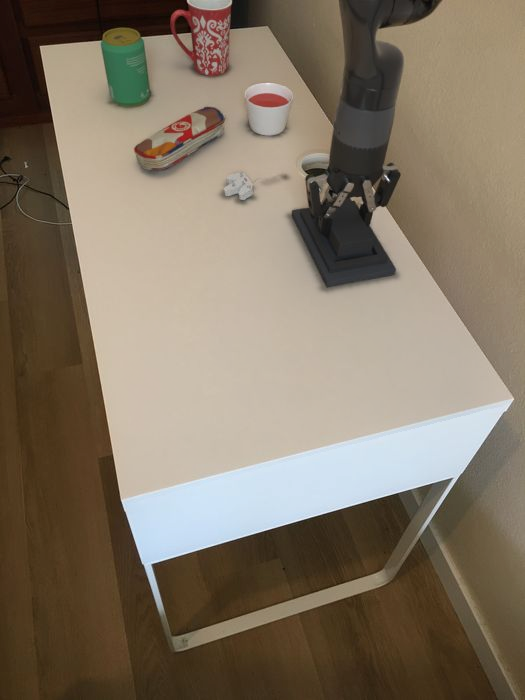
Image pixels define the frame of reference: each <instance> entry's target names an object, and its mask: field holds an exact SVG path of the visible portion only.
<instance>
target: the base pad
mask: <svg viewBox="0 0 525 700" xmlns="http://www.w3.org/2000/svg"><path fill="white" fill-rule="evenodd" d="M352 202H353V204H354V205H355V207H356V209H357V210H358V212H359V209H360V206H359V205H358V204H357V202H356V200H352ZM291 218H292V220H293V222H294V224H295V226H296V228H297V230H298V232H299V234H300V237H301V238H302V240H303V243H304V244H305V246H306V248H307V251H308V252H309V254H310V257H311V259H312V260H313V261H312V262H313V263H314V265H315V267H316V269H317V271H318V273H319V275H320V277H321V279H322V282H323V283H324V285H325V287H326V288H330V287H336V286H341V285H347V284H353V283H359V282H364V281H369V280H374V279H381V278H384V277H391V276H395V275H396V271H397V267H396V266H395V265H394V263H393V262H392V260H391V258H390V257H389V255H388V253H387V252H386V250H385V248H384V247H383V245H382V243H381V242H380V240H379V238H378V237H377V235H376V233H375V232H374V231H373V230H374V229H372V227H371V224H370V225H369V227H368V229H369V230H370V232H371V234H372V235H373V237H374V242H373V246H372V250H371V251H368V252H363V253H357V254H351V255H345V256H340V257H337V255H336V253H335V251H334V249H333V247H332V245H331V243H330V241H329V240H328V238H327V237H324V235H323V234H321V232H320V230H319V228H318V219H317V218H315V217H314V216H313V214H312V212H311V210H310V208H309V206H308V207H303V208H297V209H292V210H291Z"/></svg>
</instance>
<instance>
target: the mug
mask: <svg viewBox="0 0 525 700" xmlns="http://www.w3.org/2000/svg"><path fill="white" fill-rule="evenodd" d="M186 3H187V4H188V5H187V6H188V10H185V9H176V10H175V11H174V12H173V13H172V14H171V16H170V20H169V21H170V31H171V33H172V35H173V38H174V40H175V41H176V43H177V44H178V45H179V47H180V48H181V49H182V51H183V52H184V53H185V54H186V55H187V57H188V58H190V60H192V61H193V67H194V70H195V71H196V72H197V73H199V74H201V75H204V76H209V77H211V76H212V77H213V76H220V75H223V74H224V73H226V72H227V71H228V69H229V53H230V34H231V33H230V32H231V17H232V16H231V14H232V4H233V0H186ZM179 17H184V18H185V19H186V22H187V24H188V26H189V27H190V34H191V46H192V50H190V49H189V48H188V47H187V46H186V45H185V44H184V43H183V42H182V40H181V39H180V37H179V36H178V33H177V30H176V22H177V20H178V18H179Z"/></svg>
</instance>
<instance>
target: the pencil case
mask: <svg viewBox="0 0 525 700" xmlns="http://www.w3.org/2000/svg"><path fill="white" fill-rule="evenodd" d="M225 121H226V116H225V114H224V113H223V112H222V111H221V110H220V109H219V108H217V107H215V106H204V107H203V108H201V109H198V110H196V111H193V112H191V113H189V114H187V115H185V116H183V117H182V118H179V119H177V120H176V121H174V122H173V123H171V124H169V125H168V126H165V127H164V128H162V129H161V130H159V131H157V132H155V133H154V134H152V135H151V136H149V137H147V138H145V139H144V140H142V141H141V142H139V143H137V144H135V146H134V147H133V152H134V154H135V157H136V161H137V164H138V165H139V167H141V168H142V169H144V170H147V171H161V170H166V169H169V168H171V167H172V166H174V165H175V164H178V163H179V162H180V161H182V160H183V159H185V158H186V157H188V156H189V155H191V154H192V153H194V152H196V151H198V150H199V149H200V148H202V147H203V146H205V145H206V144H209V143H210V142H212V141H214V140H216V139H217V138H219V137H220V136H222V134H223V133H224V130H225V127H224V125H223V124H224V123H225Z"/></svg>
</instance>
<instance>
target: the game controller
mask: <svg viewBox="0 0 525 700" xmlns="http://www.w3.org/2000/svg"><path fill="white" fill-rule="evenodd" d="M279 176H280V174H278V175H276V176H275V177H274V178H270V179H268V178H265V180H266V181H270V180H271V181H272V180H275V179H276V178H278V177H279ZM282 176H284V177H286V176H287V175H285V174H284V173H283V174H282ZM260 179H261V177H259V178H256V179H255V180H254V181H252V180H251V179H250V178H249V177H248V176H247V175H246V174H245V173H243V172H234V173H231V174H228V175H227V176H226V181H227V185H226V186H225V187H224V188H223V193H224V196H225V197H230V196H233V195H237V194H238V199H239V200H241V201H244V200H246V199H248V198H249V197H252V195H254V187H253V183H255V182H256V181H257V180H260Z"/></svg>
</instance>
